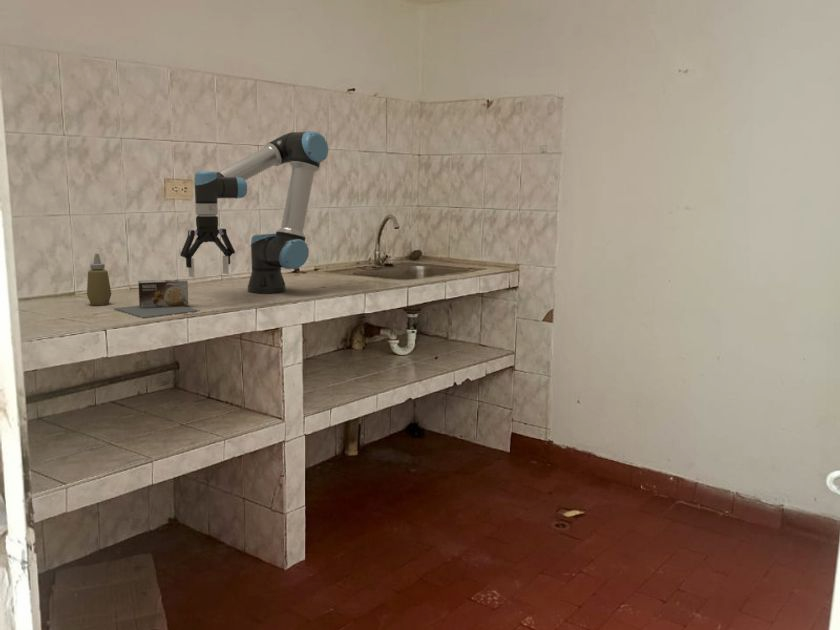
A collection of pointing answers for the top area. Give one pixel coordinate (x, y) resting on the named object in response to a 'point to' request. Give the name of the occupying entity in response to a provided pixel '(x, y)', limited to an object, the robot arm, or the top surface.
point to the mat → (155, 311)
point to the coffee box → (163, 293)
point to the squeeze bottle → (98, 283)
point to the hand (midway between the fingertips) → (209, 275)
